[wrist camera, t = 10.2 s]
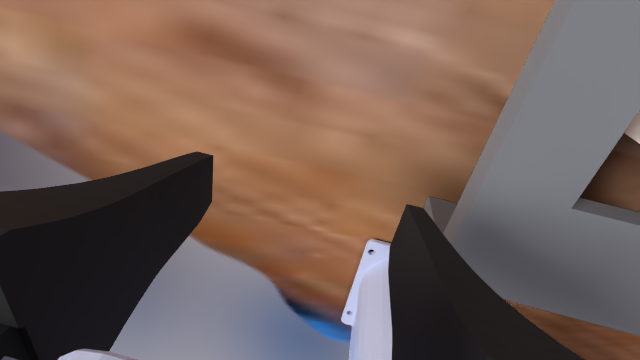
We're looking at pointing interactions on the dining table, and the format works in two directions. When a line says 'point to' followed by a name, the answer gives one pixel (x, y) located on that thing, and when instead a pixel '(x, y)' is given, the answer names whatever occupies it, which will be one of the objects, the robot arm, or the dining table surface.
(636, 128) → the white rectangular prism
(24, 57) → the dining table surface
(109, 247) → the robot arm
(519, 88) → the shelf
